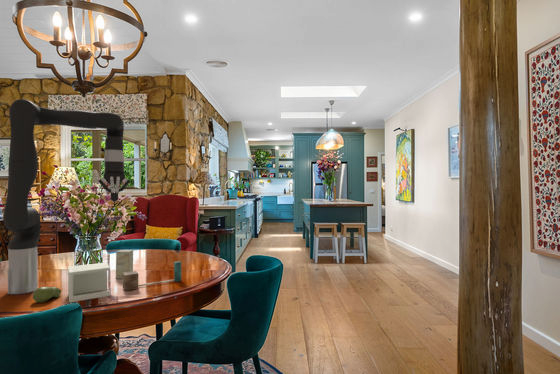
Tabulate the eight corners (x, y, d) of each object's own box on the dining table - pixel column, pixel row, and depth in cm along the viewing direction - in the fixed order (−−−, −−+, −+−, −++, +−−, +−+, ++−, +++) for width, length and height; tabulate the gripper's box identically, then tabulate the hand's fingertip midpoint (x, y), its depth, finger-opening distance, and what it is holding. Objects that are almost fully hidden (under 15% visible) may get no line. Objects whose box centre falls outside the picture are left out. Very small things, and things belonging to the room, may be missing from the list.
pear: (29, 287, 121) (53, 284, 131) (27, 303, 120) (51, 299, 130) (43, 288, 120) (65, 285, 130) (41, 303, 119) (64, 299, 129)
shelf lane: (69, 302, 122) (69, 272, 122) (68, 294, 131) (68, 266, 131) (110, 295, 129) (110, 267, 129) (106, 288, 138) (106, 262, 138)
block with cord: (124, 290, 134) (124, 270, 134) (122, 287, 138) (122, 267, 138) (183, 281, 147) (182, 262, 147) (179, 278, 151) (179, 260, 151)
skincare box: (115, 278, 154) (115, 251, 154) (120, 275, 158) (120, 249, 158) (128, 278, 153) (128, 251, 153) (133, 276, 158) (133, 249, 158)
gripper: (97, 159, 140) (97, 202, 140) (132, 161, 147) (132, 201, 147) (96, 161, 146) (96, 201, 146) (129, 162, 153) (129, 200, 153)
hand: (114, 201), depth 146 cm, fingers closed
